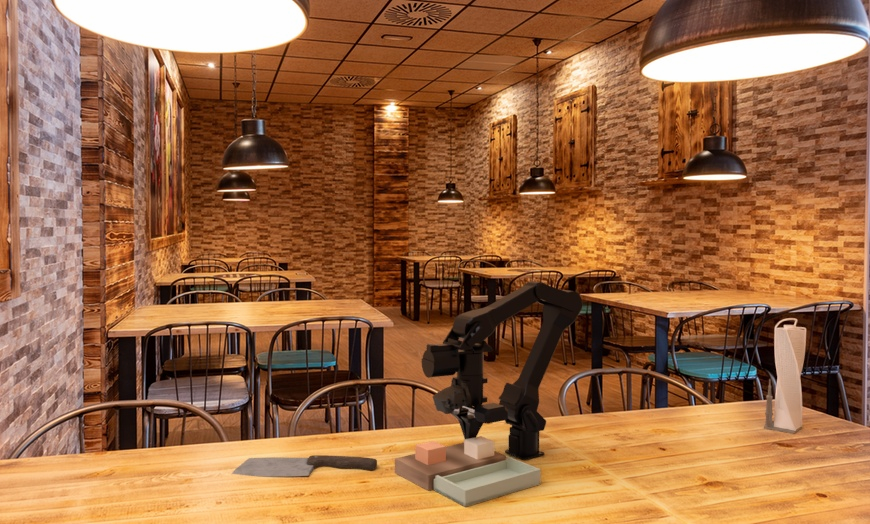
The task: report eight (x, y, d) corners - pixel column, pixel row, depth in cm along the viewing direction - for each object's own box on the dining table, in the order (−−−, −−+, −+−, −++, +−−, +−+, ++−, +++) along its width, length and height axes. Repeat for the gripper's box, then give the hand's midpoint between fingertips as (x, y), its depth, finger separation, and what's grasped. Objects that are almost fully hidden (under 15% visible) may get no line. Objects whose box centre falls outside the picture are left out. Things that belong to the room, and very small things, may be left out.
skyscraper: (774, 421, 177) (776, 316, 175) (808, 427, 171) (811, 319, 170) (763, 428, 170) (766, 319, 169) (798, 434, 165) (801, 322, 164)
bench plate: (470, 454, 149) (470, 441, 149) (506, 469, 140) (506, 455, 140) (394, 472, 138) (394, 458, 138) (428, 490, 128) (428, 475, 128)
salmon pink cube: (432, 454, 140) (433, 440, 140) (445, 460, 136) (445, 446, 136) (415, 459, 137) (415, 444, 137) (427, 465, 134) (427, 450, 133)
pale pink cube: (480, 449, 143) (481, 436, 143) (494, 455, 140) (494, 441, 139) (464, 453, 141) (464, 439, 141) (477, 459, 137) (477, 445, 137)
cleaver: (378, 463, 144) (378, 454, 144) (372, 480, 134) (372, 469, 134) (244, 463, 145) (244, 453, 145) (228, 479, 136) (228, 468, 136)
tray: (507, 470, 139) (507, 455, 139) (540, 484, 132) (540, 469, 131) (433, 490, 128) (433, 474, 128) (465, 507, 120) (465, 490, 120)
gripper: (414, 370, 145) (414, 440, 146) (467, 386, 130) (466, 465, 131) (455, 364, 152) (454, 432, 152) (510, 379, 137) (509, 454, 137)
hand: (469, 445), depth 143 cm, fingers closed
